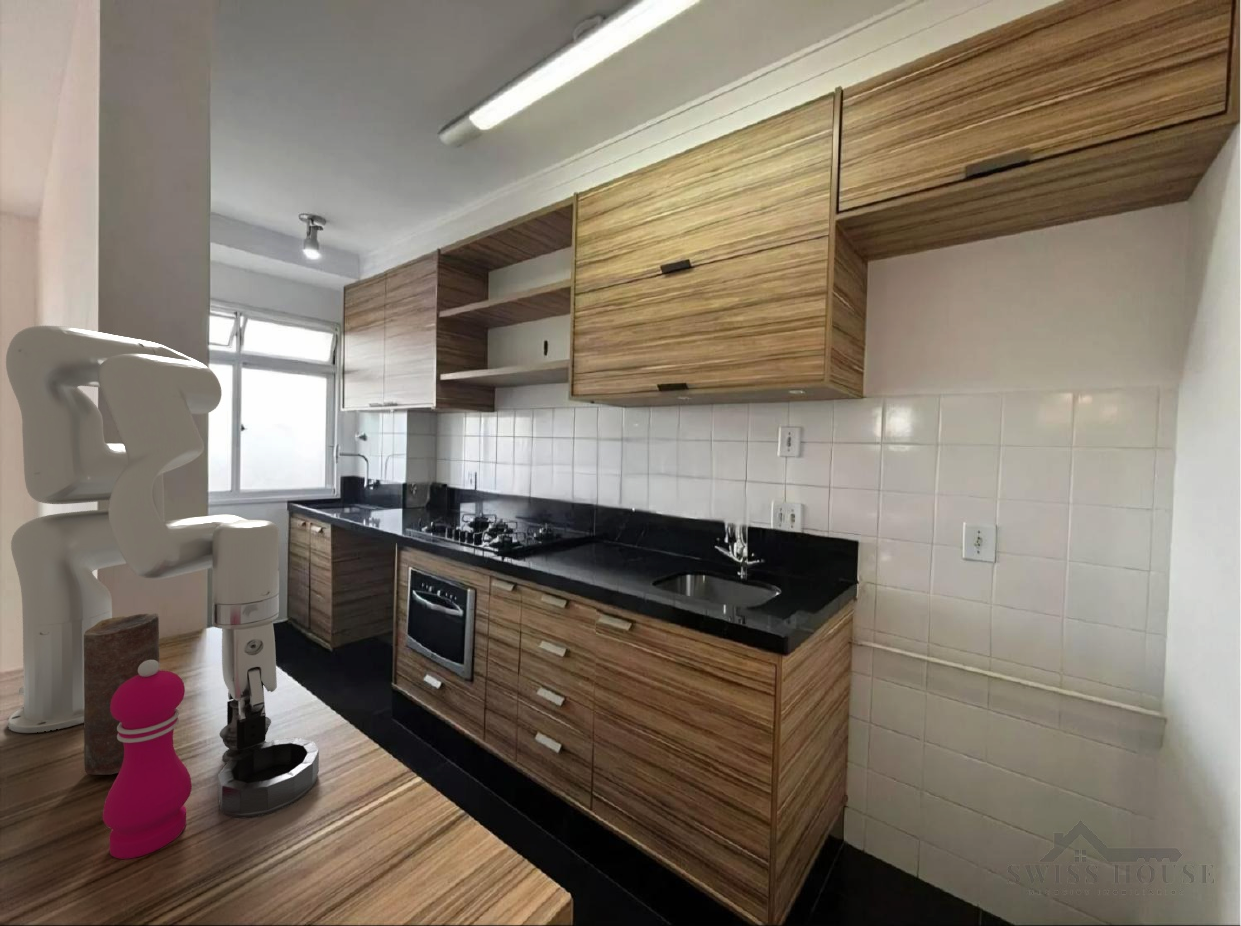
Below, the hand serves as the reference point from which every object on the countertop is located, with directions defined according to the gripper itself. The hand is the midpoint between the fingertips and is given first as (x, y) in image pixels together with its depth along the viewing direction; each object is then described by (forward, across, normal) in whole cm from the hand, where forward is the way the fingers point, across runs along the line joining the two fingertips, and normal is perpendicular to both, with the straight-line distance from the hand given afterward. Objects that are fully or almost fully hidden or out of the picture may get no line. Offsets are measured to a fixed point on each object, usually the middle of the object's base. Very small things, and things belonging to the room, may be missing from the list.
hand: (246, 733), depth 72 cm
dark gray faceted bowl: (+3, -11, -1) cm, 11 cm away
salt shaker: (+3, 0, 0) cm, 3 cm away
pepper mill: (+3, -11, +11) cm, 16 cm away
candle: (+3, +7, +12) cm, 14 cm away
